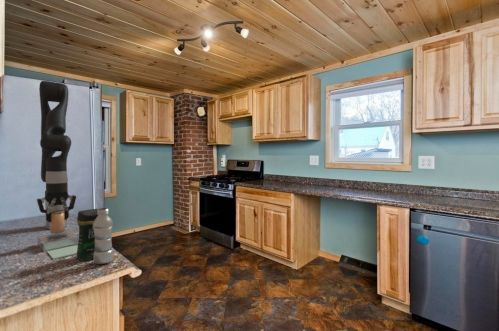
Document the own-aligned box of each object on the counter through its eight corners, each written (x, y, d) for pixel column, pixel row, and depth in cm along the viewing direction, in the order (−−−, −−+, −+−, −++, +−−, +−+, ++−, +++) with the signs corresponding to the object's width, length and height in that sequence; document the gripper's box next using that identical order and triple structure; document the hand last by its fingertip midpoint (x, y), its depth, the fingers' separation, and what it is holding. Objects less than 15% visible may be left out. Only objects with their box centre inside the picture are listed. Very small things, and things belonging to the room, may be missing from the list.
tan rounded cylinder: (48, 231, 113) (48, 211, 113) (63, 229, 117) (62, 209, 117) (51, 234, 110) (51, 213, 110) (66, 231, 114) (66, 211, 113)
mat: (47, 252, 105) (47, 251, 105) (76, 246, 113) (76, 245, 113) (53, 259, 99) (53, 258, 99) (83, 252, 106) (83, 251, 106)
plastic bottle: (105, 267, 93) (104, 211, 92) (88, 265, 94) (88, 210, 93) (117, 260, 99) (117, 207, 98) (102, 258, 101) (101, 206, 100)
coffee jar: (81, 263, 96) (80, 213, 95) (74, 257, 101) (74, 209, 100) (109, 256, 103) (109, 209, 102) (101, 250, 108) (101, 206, 108)
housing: (37, 244, 113) (37, 236, 113) (70, 238, 122) (70, 231, 122) (43, 252, 105) (43, 243, 105) (78, 244, 114) (78, 237, 114)
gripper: (73, 179, 120) (74, 216, 121) (33, 181, 110) (34, 222, 111) (78, 181, 115) (79, 219, 116) (37, 183, 105) (38, 225, 106)
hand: (57, 220), depth 113 cm, fingers closed on tan rounded cylinder, 5 cm apart
